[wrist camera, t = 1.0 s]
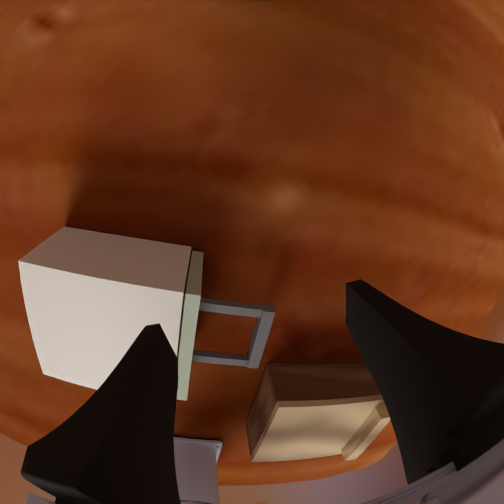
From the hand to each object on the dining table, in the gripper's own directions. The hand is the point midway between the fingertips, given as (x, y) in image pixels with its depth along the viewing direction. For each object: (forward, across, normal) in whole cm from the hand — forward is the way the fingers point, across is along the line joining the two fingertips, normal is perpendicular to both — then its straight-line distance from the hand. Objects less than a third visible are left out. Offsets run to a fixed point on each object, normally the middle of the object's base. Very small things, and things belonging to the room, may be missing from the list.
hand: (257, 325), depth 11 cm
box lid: (+4, -3, +20) cm, 21 cm away
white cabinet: (+10, +10, +3) cm, 14 cm away
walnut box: (+9, -3, +20) cm, 22 cm away
